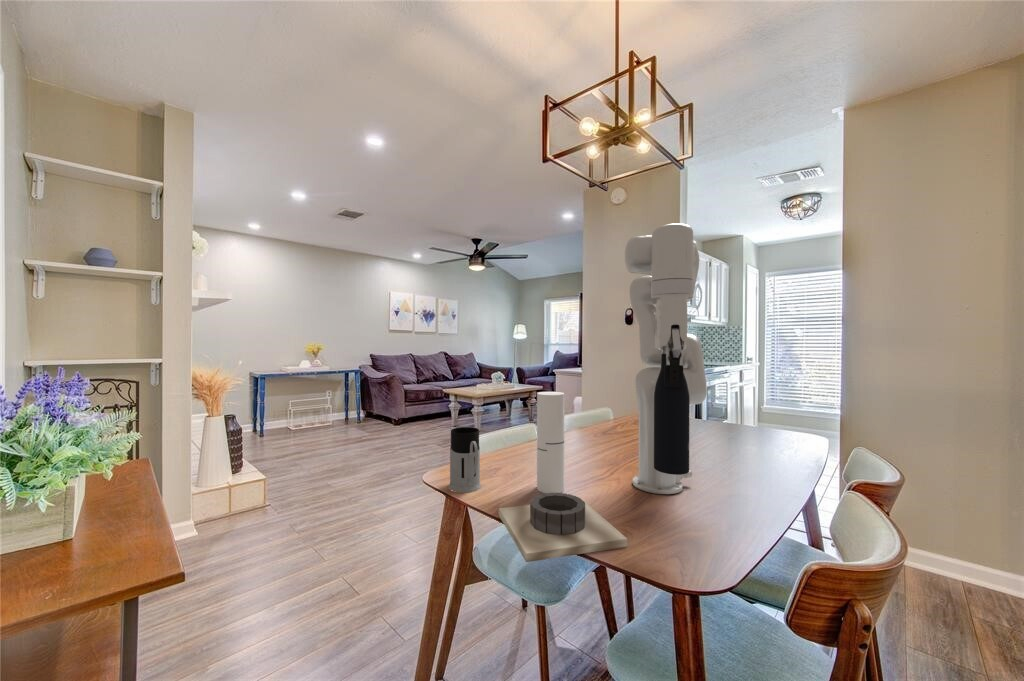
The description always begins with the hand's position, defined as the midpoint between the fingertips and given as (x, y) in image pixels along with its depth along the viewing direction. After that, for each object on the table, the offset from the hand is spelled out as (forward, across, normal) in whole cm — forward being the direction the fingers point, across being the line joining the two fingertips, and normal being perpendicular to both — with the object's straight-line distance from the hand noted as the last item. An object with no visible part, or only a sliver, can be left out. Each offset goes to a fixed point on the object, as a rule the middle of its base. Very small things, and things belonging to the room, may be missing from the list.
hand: (671, 384), depth 79 cm
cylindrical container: (+31, -22, -27) cm, 46 cm away
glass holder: (+31, -16, -48) cm, 59 cm away
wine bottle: (+17, 0, 0) cm, 17 cm away
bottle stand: (+30, +1, -22) cm, 38 cm away
